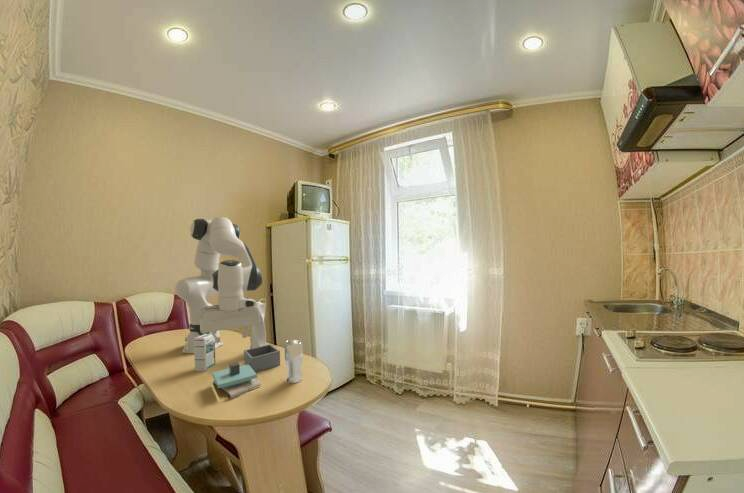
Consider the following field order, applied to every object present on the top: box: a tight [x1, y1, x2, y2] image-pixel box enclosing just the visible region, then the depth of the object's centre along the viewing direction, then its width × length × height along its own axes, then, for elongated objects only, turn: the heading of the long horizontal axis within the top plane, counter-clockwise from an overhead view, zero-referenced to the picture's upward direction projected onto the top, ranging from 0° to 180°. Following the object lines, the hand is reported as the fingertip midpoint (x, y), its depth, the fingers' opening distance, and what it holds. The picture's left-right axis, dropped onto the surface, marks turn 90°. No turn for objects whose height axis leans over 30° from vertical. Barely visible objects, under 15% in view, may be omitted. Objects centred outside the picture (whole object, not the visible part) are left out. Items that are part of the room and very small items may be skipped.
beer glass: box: [284, 339, 304, 384], centre depth 111 cm, size 7×7×15 cm
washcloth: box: [213, 378, 262, 400], centre depth 107 cm, size 12×18×3 cm, turn 50°
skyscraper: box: [249, 298, 267, 349], centre depth 138 cm, size 8×8×28 cm
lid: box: [212, 361, 258, 389], centre depth 107 cm, size 13×13×6 cm
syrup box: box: [193, 334, 216, 372], centre depth 124 cm, size 6×6×14 cm
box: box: [243, 343, 281, 373], centre depth 124 cm, size 12×12×7 cm
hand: (231, 339), depth 106 cm, fingers open, 8 cm apart
